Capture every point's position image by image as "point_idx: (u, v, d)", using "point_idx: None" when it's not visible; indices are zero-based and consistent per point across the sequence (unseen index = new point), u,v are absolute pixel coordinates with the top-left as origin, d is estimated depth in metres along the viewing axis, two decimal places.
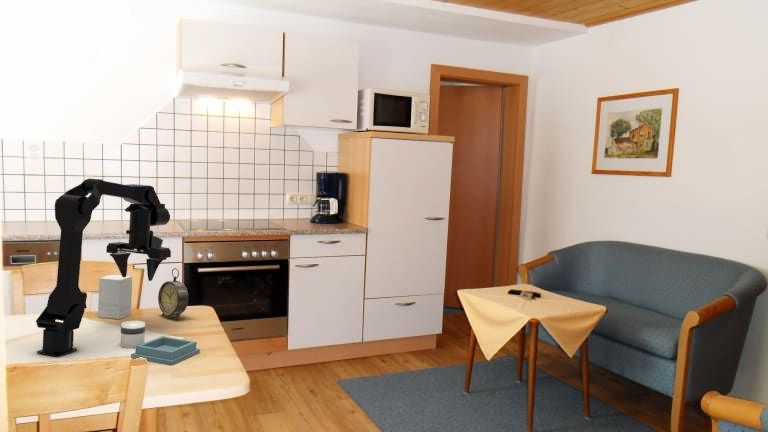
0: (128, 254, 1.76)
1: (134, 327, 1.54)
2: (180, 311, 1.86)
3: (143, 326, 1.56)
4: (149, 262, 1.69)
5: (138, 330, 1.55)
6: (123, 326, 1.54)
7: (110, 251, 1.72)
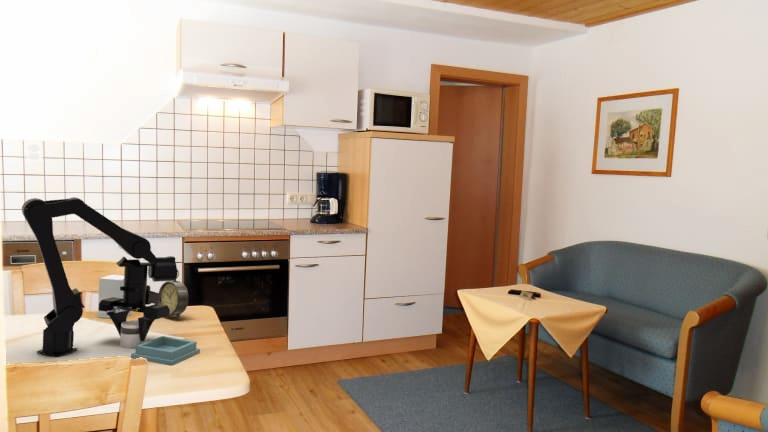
0: (127, 311, 1.59)
1: (134, 327, 1.54)
2: (180, 311, 1.86)
3: None
4: (141, 322, 1.53)
5: (138, 330, 1.55)
6: (123, 326, 1.54)
7: (103, 309, 1.56)
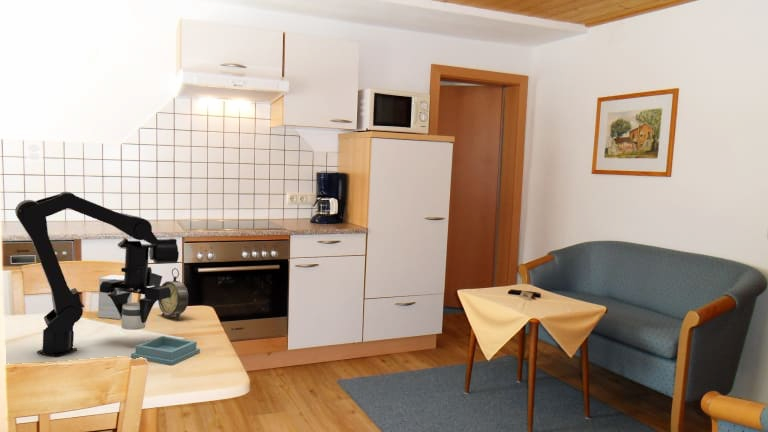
0: (128, 293, 1.59)
1: (135, 308, 1.54)
2: (180, 311, 1.86)
3: None
4: (142, 303, 1.53)
5: (139, 312, 1.55)
6: (124, 307, 1.54)
7: (104, 291, 1.55)
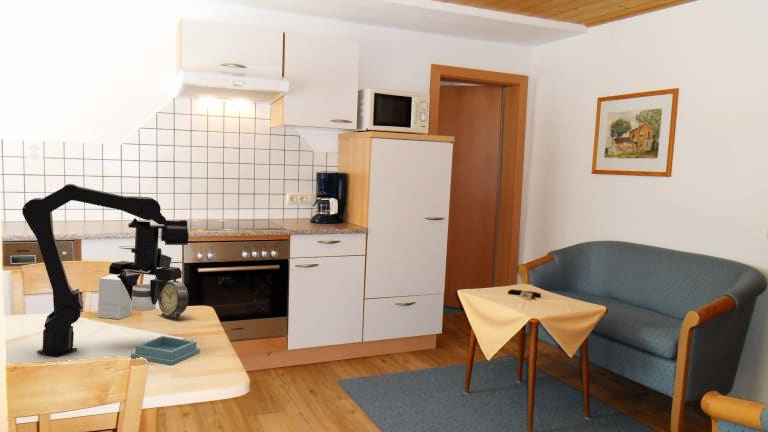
0: (138, 275, 1.57)
1: (146, 289, 1.52)
2: (180, 311, 1.86)
3: None
4: (153, 284, 1.51)
5: (150, 293, 1.53)
6: (135, 288, 1.52)
7: (113, 272, 1.53)
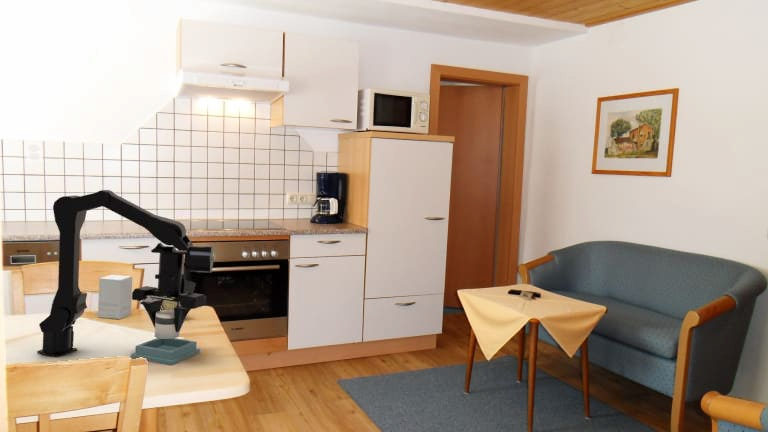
0: (161, 301, 1.53)
1: (170, 317, 1.47)
2: None
3: None
4: (177, 312, 1.46)
5: (173, 320, 1.48)
6: (158, 316, 1.48)
7: (136, 298, 1.49)
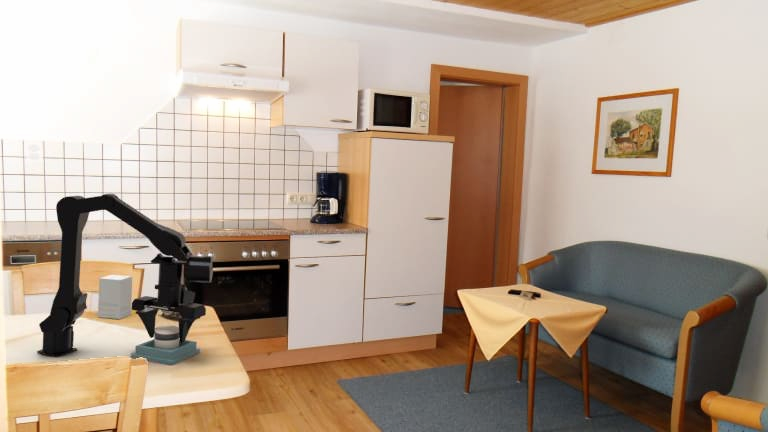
0: (156, 310, 1.53)
1: (169, 333, 1.48)
2: None
3: (178, 332, 1.50)
4: (181, 323, 1.46)
5: (173, 336, 1.48)
6: (157, 332, 1.48)
7: (136, 308, 1.49)
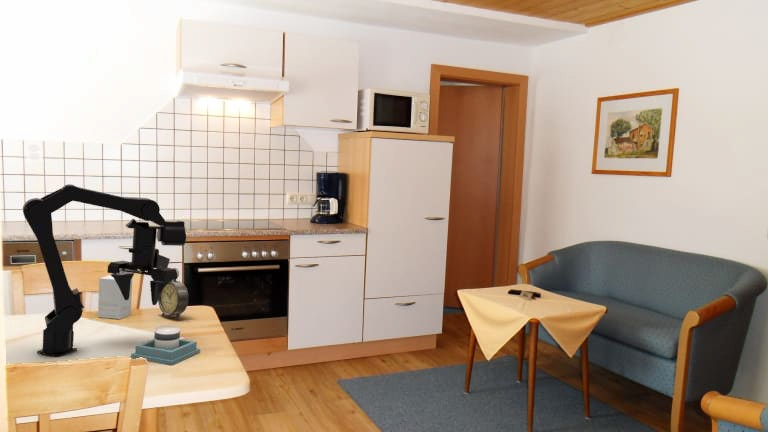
0: (131, 274, 1.60)
1: (169, 333, 1.48)
2: (180, 311, 1.86)
3: (178, 332, 1.50)
4: (153, 285, 1.52)
5: (173, 336, 1.48)
6: (157, 332, 1.48)
7: (111, 271, 1.55)
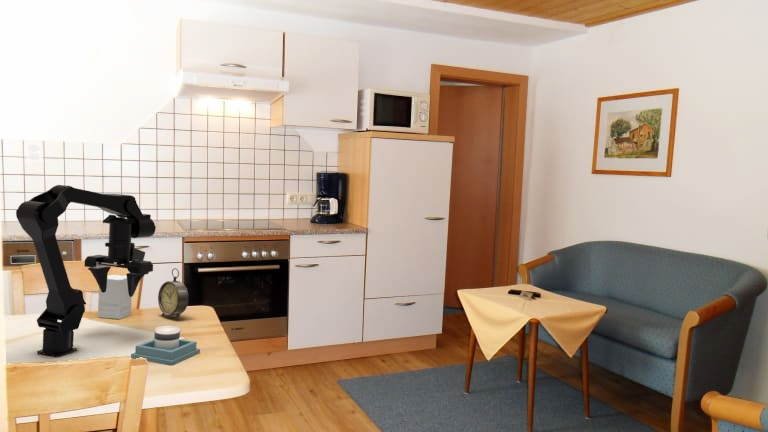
0: (108, 268, 1.66)
1: (169, 333, 1.48)
2: (180, 311, 1.86)
3: (178, 332, 1.50)
4: (129, 277, 1.58)
5: (173, 336, 1.48)
6: (157, 332, 1.48)
7: (88, 265, 1.61)
